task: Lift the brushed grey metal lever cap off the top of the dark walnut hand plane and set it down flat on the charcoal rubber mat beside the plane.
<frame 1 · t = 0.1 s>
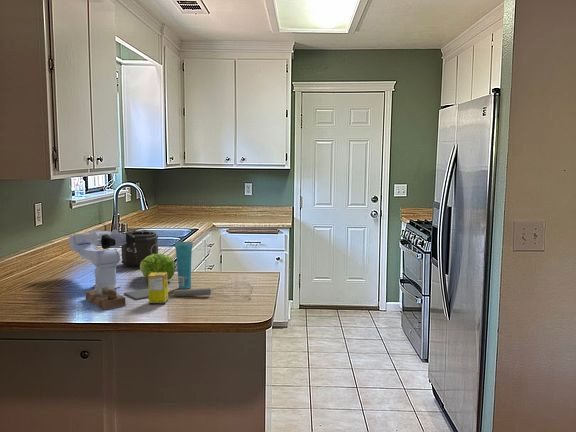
hand: (124, 241, 198), 22 cm above the countertop, fingers open, 7 cm apart
kitchen whisk: (211, 298, 201), on the countertop
charcoal mat: (142, 294, 204), on the countertop
supplement box: (158, 303, 193), on the countertop
walnut plane: (105, 302, 193), on the countertop
tube: (184, 288, 214), on the countertop
dark speckled bucket: (140, 265, 260), on the countertop
lettuce: (155, 280, 228), on the countertop
lever cap: (104, 294, 193), point 3 cm above the countertop, touching walnut plane
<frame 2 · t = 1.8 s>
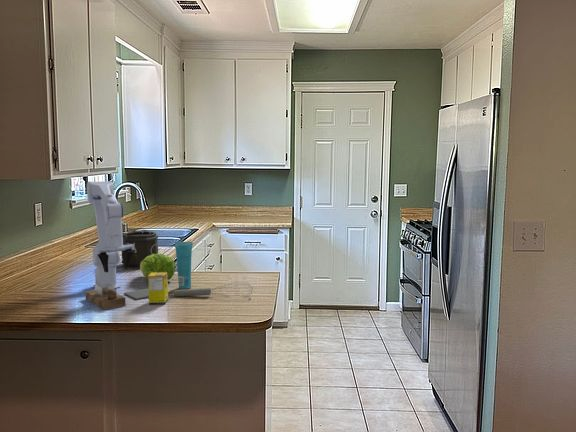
hand: (116, 270, 199), 10 cm above the countertop, fingers open, 7 cm apart
nothing on the countertop moved.
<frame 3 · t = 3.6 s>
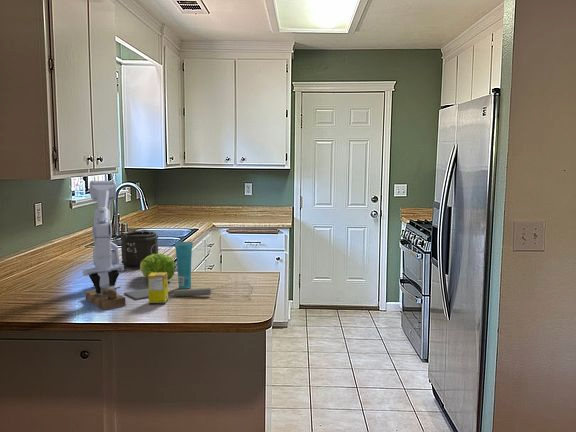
hand: (104, 292, 193), 4 cm above the countertop, fingers closed on lever cap, 4 cm apart
lever cap: (104, 294, 193), point 3 cm above the countertop, touching gripper, walnut plane
everything else where it was.
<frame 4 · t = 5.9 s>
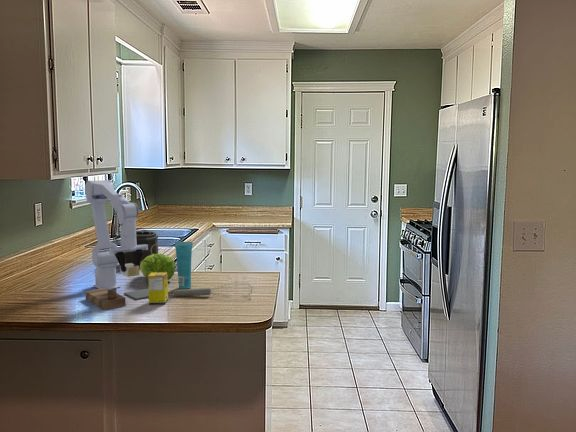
hand: (129, 270, 199), 10 cm above the countertop, fingers closed on lever cap, 4 cm apart
lever cap: (129, 274, 199), point 9 cm above the countertop, touching gripper
everything else where it was.
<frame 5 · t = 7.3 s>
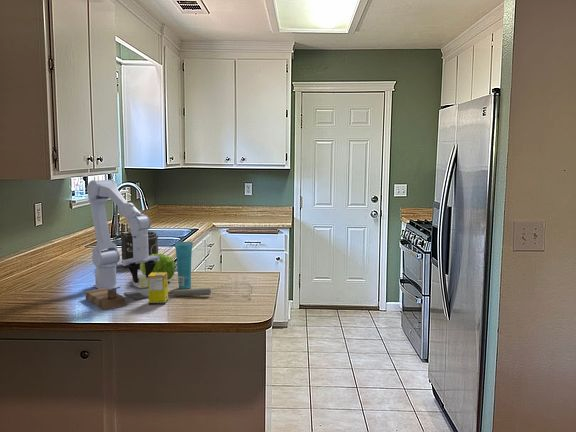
hand: (141, 281, 203), 5 cm above the countertop, fingers closed on lever cap, 4 cm apart
lever cap: (142, 285, 203), point 4 cm above the countertop, touching gripper
everything else where it was.
when the fingers open (3 cm above the countertop, at t = 8.2 s): lever cap stays where it is, resting on charcoal mat.
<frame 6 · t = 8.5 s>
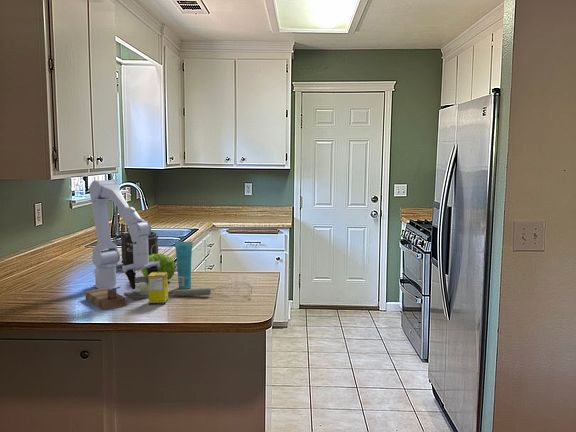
hand: (142, 287, 203), 3 cm above the countertop, fingers open, 7 cm apart
lever cap: (142, 293, 203), point 1 cm above the countertop, touching charcoal mat
everything else where it was.
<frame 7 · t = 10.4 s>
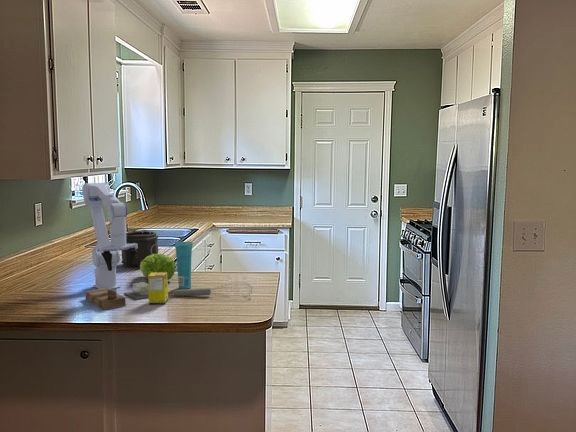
hand: (119, 269, 202), 10 cm above the countertop, fingers open, 7 cm apart
nothing on the countertop moved.
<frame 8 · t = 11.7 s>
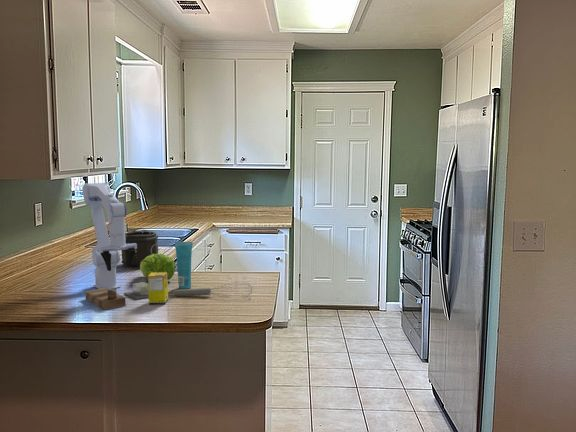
hand: (118, 269, 201), 10 cm above the countertop, fingers open, 7 cm apart
nothing on the countertop moved.
at the end: lever cap inside the target area on the charcoal mat (0.1 cm from its centre), point 0.6 cm above the charcoal mat's base; lever cap tilted 0°; the gripper is holding nothing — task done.
